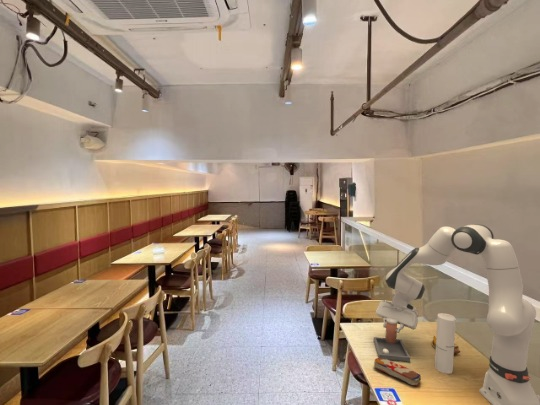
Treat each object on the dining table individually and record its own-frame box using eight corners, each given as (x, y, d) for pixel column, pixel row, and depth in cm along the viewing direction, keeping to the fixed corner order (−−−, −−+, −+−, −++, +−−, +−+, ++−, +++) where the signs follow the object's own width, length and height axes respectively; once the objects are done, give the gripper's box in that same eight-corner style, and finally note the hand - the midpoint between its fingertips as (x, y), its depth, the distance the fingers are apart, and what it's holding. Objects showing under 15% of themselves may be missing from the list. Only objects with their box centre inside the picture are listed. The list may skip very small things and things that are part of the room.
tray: (410, 362, 142) (410, 357, 141) (379, 359, 144) (379, 354, 144) (401, 344, 157) (401, 339, 157) (373, 341, 160) (373, 337, 159)
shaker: (397, 343, 147) (398, 322, 146) (386, 342, 148) (387, 321, 147) (394, 338, 152) (396, 317, 151) (384, 337, 153) (385, 316, 152)
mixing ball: (389, 356, 145) (389, 351, 145) (382, 356, 145) (383, 350, 145) (387, 353, 148) (388, 347, 148) (381, 352, 148) (381, 347, 148)
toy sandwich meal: (454, 343, 159) (455, 335, 158) (463, 358, 146) (463, 349, 145) (428, 339, 162) (429, 331, 162) (434, 353, 149) (435, 344, 149)
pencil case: (385, 360, 144) (385, 350, 143) (425, 384, 127) (425, 373, 127) (370, 368, 138) (370, 358, 137) (410, 394, 121) (410, 382, 121)
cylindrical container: (455, 374, 133) (458, 321, 131) (437, 372, 135) (440, 319, 132) (448, 364, 140) (452, 313, 138) (432, 362, 141) (435, 312, 139)
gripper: (379, 296, 161) (369, 319, 155) (419, 309, 146) (409, 335, 140) (383, 301, 164) (373, 324, 159) (422, 314, 149) (412, 340, 144)
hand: (390, 329), depth 149 cm, fingers closed on shaker, 5 cm apart
